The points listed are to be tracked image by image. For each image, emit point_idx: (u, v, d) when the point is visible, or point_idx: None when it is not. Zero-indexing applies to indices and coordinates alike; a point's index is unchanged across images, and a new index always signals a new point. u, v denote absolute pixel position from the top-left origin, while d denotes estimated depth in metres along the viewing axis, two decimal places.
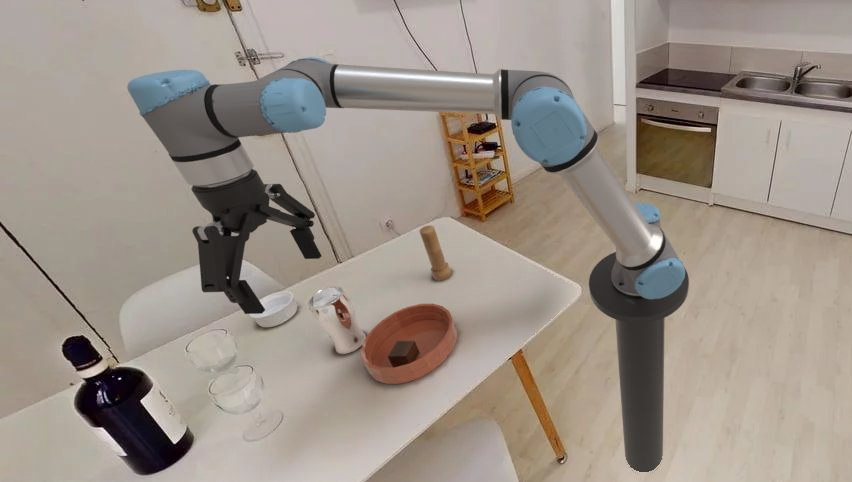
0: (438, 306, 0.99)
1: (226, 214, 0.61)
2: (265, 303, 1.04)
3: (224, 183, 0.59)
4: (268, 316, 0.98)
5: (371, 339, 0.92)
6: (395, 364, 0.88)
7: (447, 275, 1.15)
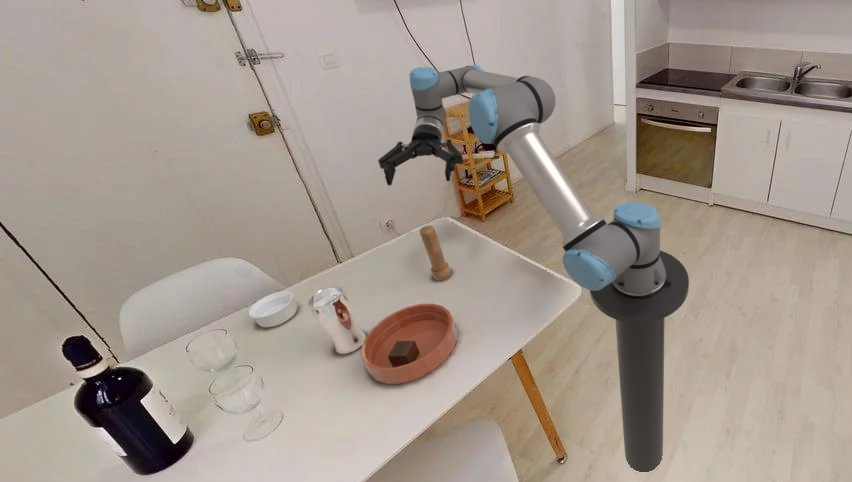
0: (438, 306, 0.99)
1: (412, 141, 1.14)
2: (265, 303, 1.04)
3: None
4: (268, 316, 0.98)
5: (371, 339, 0.92)
6: (395, 364, 0.88)
7: (447, 275, 1.15)
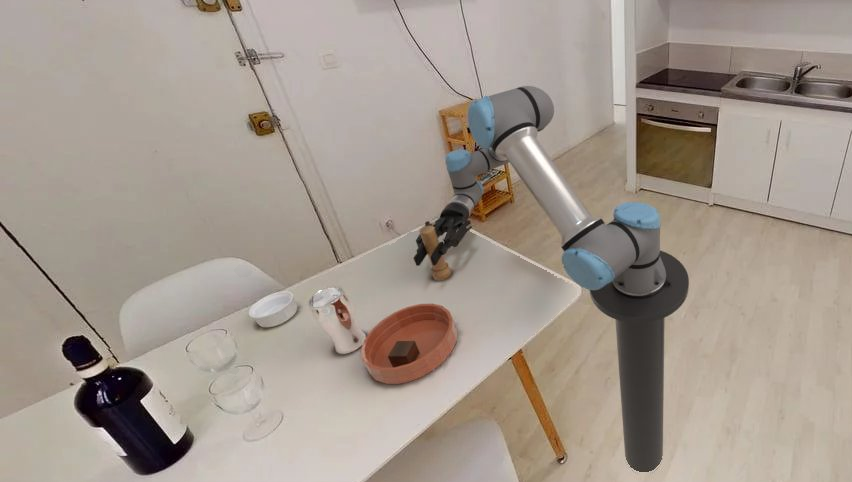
0: (438, 306, 0.99)
1: (439, 218, 1.22)
2: (265, 303, 1.04)
3: None
4: (268, 316, 0.98)
5: (371, 339, 0.92)
6: (395, 364, 0.88)
7: (447, 275, 1.15)
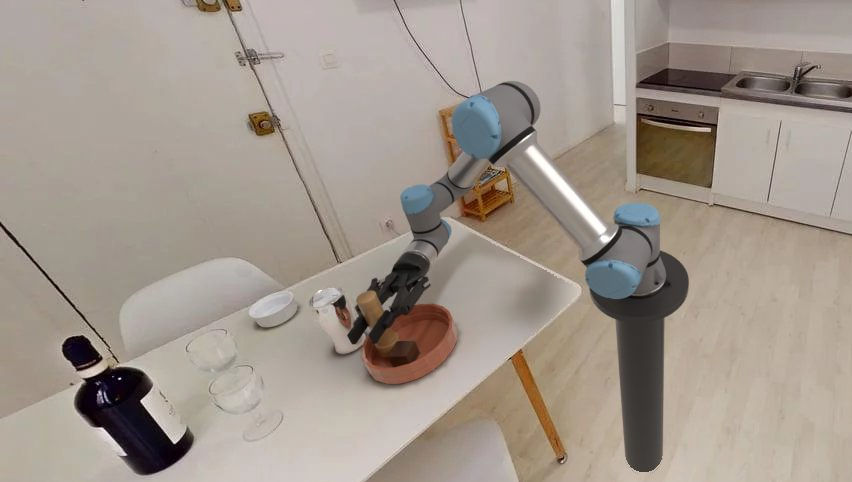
0: (438, 306, 0.99)
1: (391, 273, 0.98)
2: (265, 303, 1.04)
3: None
4: (268, 316, 0.98)
5: None
6: (395, 364, 0.88)
7: None
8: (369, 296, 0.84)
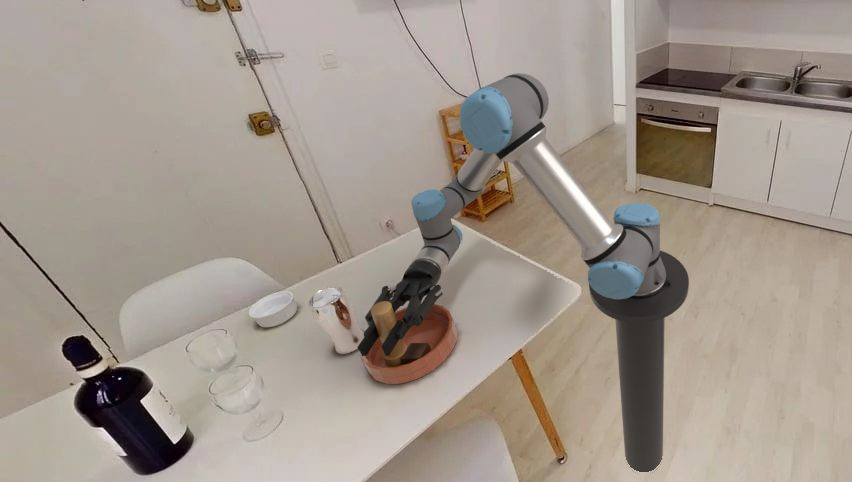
0: (438, 306, 0.99)
1: (402, 280, 0.96)
2: (265, 303, 1.04)
3: None
4: (268, 316, 0.98)
5: None
6: None
7: None
8: (385, 307, 0.82)
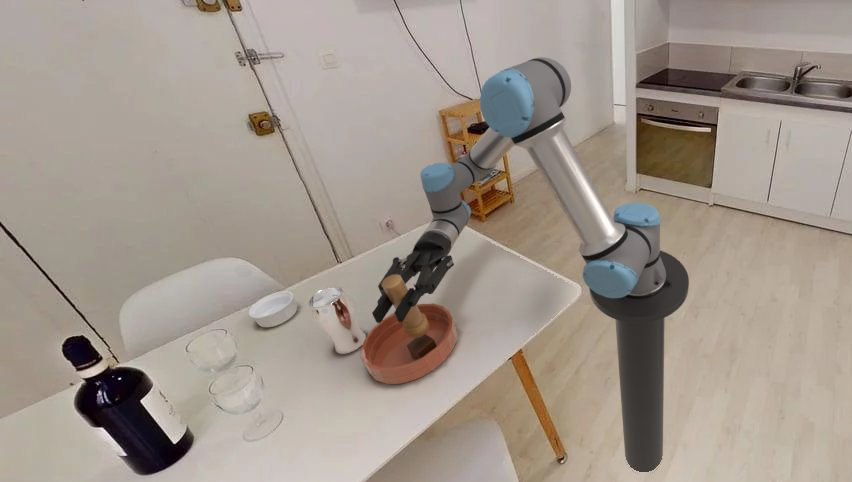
0: (438, 306, 0.99)
1: (412, 252, 0.95)
2: (265, 303, 1.04)
3: None
4: (268, 316, 0.98)
5: (371, 339, 0.92)
6: (412, 355, 0.90)
7: (425, 330, 0.89)
8: (395, 280, 0.81)
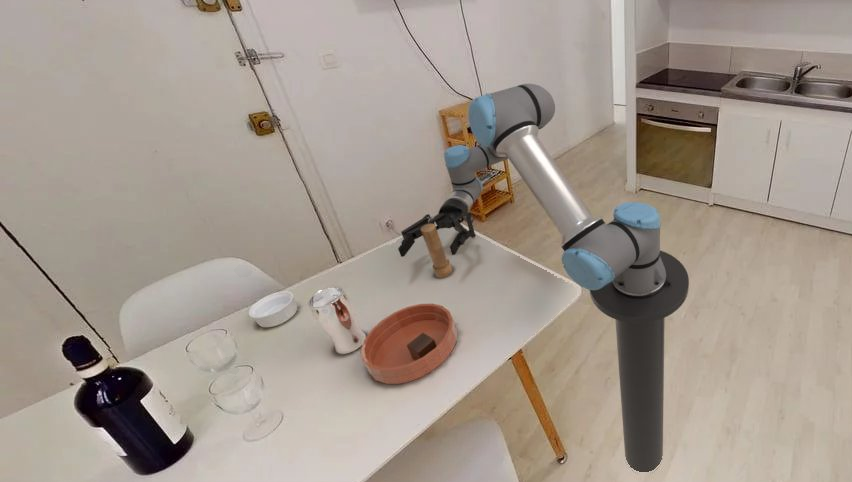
0: (438, 306, 0.99)
1: (438, 214, 1.22)
2: (265, 303, 1.04)
3: None
4: (268, 316, 0.98)
5: (371, 339, 0.92)
6: (412, 355, 0.90)
7: (449, 272, 1.16)
8: (430, 227, 1.09)
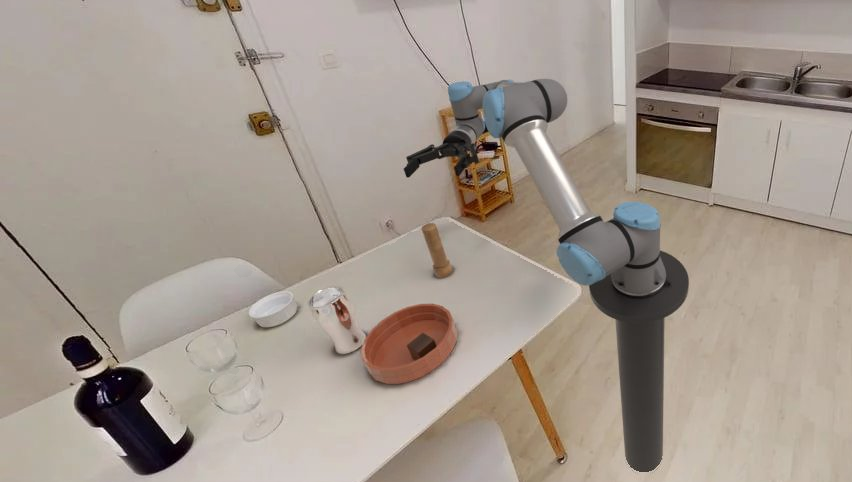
0: (438, 306, 0.99)
1: (442, 144, 1.25)
2: (265, 303, 1.04)
3: None
4: (268, 316, 0.98)
5: (371, 339, 0.92)
6: (412, 355, 0.90)
7: (449, 272, 1.16)
8: (431, 226, 1.09)
